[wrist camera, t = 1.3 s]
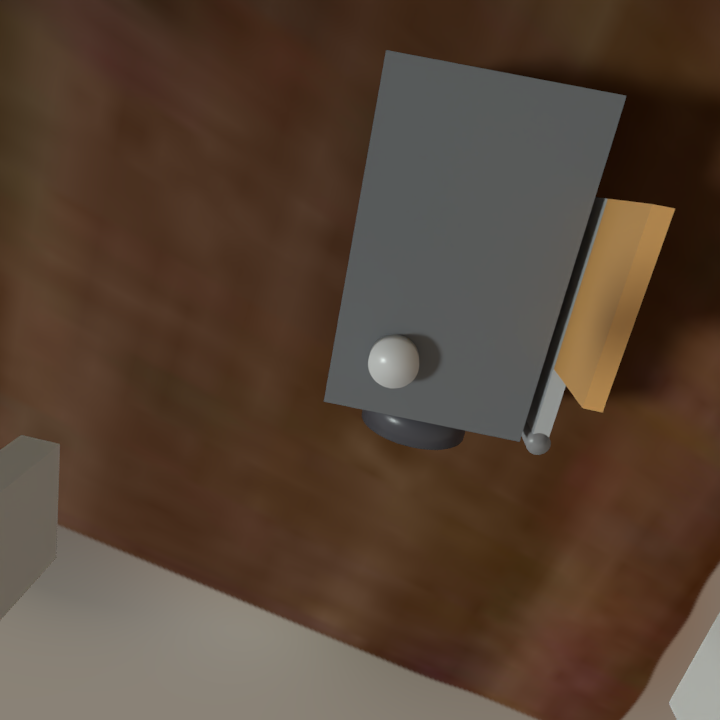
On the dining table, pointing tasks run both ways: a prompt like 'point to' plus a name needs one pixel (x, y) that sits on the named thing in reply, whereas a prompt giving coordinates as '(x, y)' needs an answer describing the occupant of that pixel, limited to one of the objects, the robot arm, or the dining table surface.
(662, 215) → the door
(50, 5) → the dining table surface
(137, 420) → the dining table surface
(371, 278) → the block
